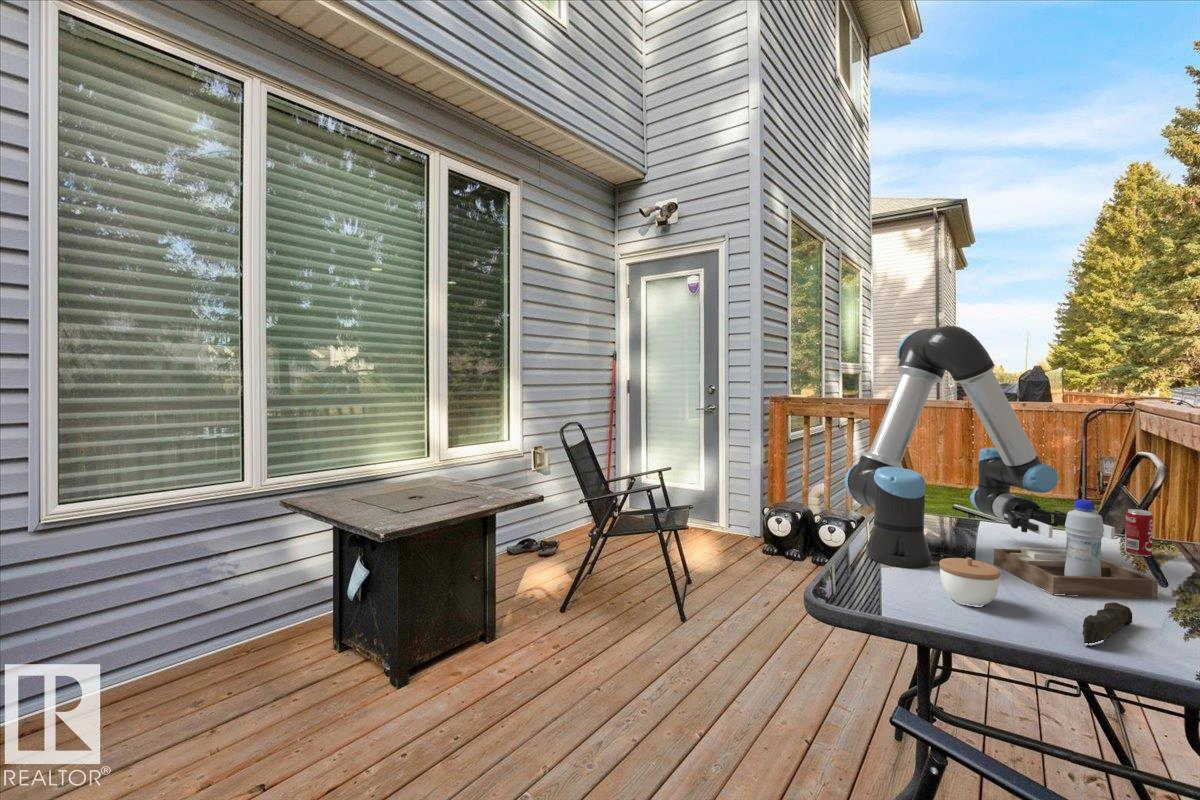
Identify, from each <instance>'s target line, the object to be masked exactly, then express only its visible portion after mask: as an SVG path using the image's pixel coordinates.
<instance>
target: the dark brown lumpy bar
mask: <svg viewBox="0 0 1200 800" xmlns="http://www.w3.org/2000/svg"><path fill="white" fill-rule="evenodd" d="M1132 623H1133V612H1132V610H1131V608H1130V607H1129V606H1127V605H1124V604H1121V603H1118V602H1115V601H1114V602H1107V603H1105V604H1104V606H1103V608H1102V609H1098V610H1097V611H1096V614H1095V615H1092V614H1090V615H1087V616H1086V617H1084V620H1083V623H1082V635H1083V636H1082V638H1083V644H1084V643H1088V644H1089V643H1095V642H1098V641H1101V640H1104V639H1106V637H1108V636H1109V635H1111V634H1114V633H1115V631H1116V630H1118V629H1120V628H1121V627H1122V626H1123V625H1125V624H1126V625H1125V626H1129V625H1130V624H1132ZM1104 641H1105V640H1104Z"/></svg>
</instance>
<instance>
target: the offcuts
mask: <svg viewBox="0 0 1200 800" xmlns="http://www.w3.org/2000/svg"><path fill="white" fill-rule="evenodd" d="M1020 549H1021V552H1022V553H1010V554H1011V555H1013V556H1015V557H1017V558H1019V559H1021V560H1023V561H1026V562H1028V563H1030V564H1037V565H1065V562H1066V548H1065V549H1064V548H1063V549H1062V548H1045V547H1044V548H1043V547H1024V546H1023V547H1022V546H1021V547H1020Z"/></svg>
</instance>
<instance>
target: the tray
mask: <svg viewBox="0 0 1200 800" xmlns="http://www.w3.org/2000/svg"><path fill="white" fill-rule="evenodd" d="M1010 553H1022V552H1021V548H1020V549H1019V548H1018V549H1017V548H1016V549H1015V548H1014V549H1013V548H1011V549H1009V548H994V549H993V566H994V565H995V567H998V568H1000V569H1002V570H1003V571H1006V572H1008V573H1010V574H1012V575H1014V576H1015V577H1017V578H1019V579H1021V580H1022V581H1025V582H1027V583H1029V584H1030V583H1031V584H1030V585H1032V584H1034V585H1036V586H1038V587H1040V588H1042V589H1044V590H1046V591H1048V592H1050V593H1052V594H1065V595H1078V596H1077V597H1089V598H1090V596H1091V597H1094V598H1096V597H1097V598H1098V597H1099V598H1124V599H1126V598H1128V599H1130V598H1131V599H1158V597H1159V594H1158V593H1159V580H1158V579H1156V578H1153V577H1152V576H1151V577H1150V576H1148V575H1145V574H1142V573H1141V572H1138V571H1135V570H1132V569H1130V568H1128V567H1124V566H1122V565H1119V564H1117V563H1114V562H1112V561H1110V560H1107V559H1104V558H1102V557H1101V577H1089V576H1065V574H1064V571H1065V565H1037V564H1030V563H1028V562H1026V561H1023V560H1021V559H1019V558H1017V557H1015V556H1013V555H1011V554H1010ZM1034 585H1033V586H1034ZM1036 586H1035V587H1036ZM1038 587H1037V588H1038ZM1040 588H1039V589H1040ZM1042 589H1041V590H1042ZM1044 590H1043V591H1044ZM1046 591H1045V592H1046ZM1048 592H1047V593H1048Z"/></svg>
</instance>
